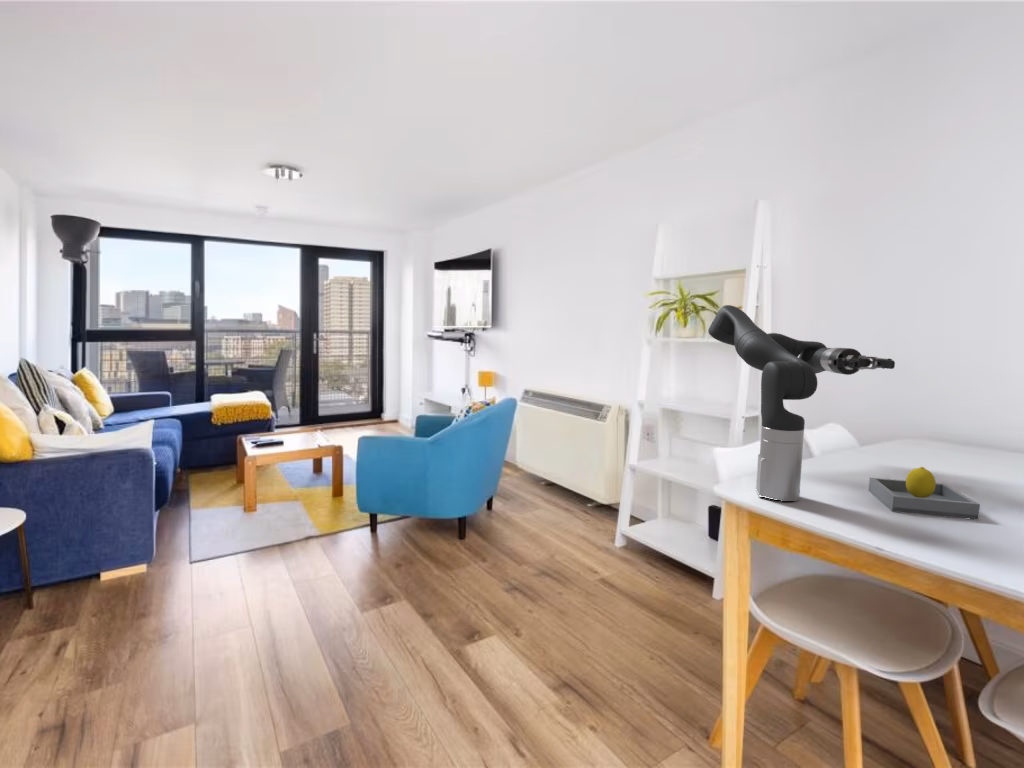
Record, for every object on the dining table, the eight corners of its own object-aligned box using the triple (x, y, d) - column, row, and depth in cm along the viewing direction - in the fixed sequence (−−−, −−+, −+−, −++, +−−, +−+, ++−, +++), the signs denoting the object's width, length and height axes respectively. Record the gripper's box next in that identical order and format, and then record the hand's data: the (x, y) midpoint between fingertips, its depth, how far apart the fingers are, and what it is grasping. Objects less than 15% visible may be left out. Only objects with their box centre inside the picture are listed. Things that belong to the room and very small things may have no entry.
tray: (892, 511, 119) (893, 496, 119) (868, 490, 134) (869, 477, 134) (978, 519, 114) (979, 504, 114) (943, 497, 129) (945, 483, 129)
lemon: (939, 504, 121) (942, 470, 120) (912, 502, 122) (915, 469, 121) (925, 497, 126) (928, 464, 125) (899, 495, 127) (902, 463, 126)
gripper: (816, 347, 153) (849, 349, 137) (866, 348, 152) (905, 350, 136) (814, 373, 154) (846, 378, 138) (864, 373, 153) (903, 379, 137)
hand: (876, 364), depth 137 cm, fingers open, 8 cm apart
